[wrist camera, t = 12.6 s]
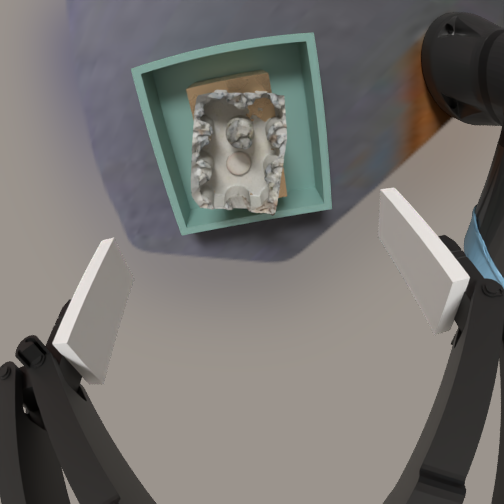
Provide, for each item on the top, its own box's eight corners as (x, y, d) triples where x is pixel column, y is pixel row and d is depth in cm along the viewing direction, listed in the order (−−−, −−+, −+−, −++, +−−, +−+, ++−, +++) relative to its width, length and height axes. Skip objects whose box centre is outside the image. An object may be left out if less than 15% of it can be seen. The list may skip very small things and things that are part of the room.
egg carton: (271, 200, 30) (276, 222, 27) (193, 195, 30) (189, 216, 26) (288, 92, 24) (297, 99, 21) (199, 84, 23) (193, 89, 20)
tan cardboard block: (262, 69, 28) (268, 72, 23) (279, 173, 35) (287, 196, 30) (194, 82, 28) (185, 89, 23) (218, 184, 35) (216, 209, 31)
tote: (302, 35, 26) (313, 32, 22) (320, 189, 37) (331, 209, 33) (145, 66, 27) (130, 68, 23) (186, 213, 38) (181, 235, 34)
